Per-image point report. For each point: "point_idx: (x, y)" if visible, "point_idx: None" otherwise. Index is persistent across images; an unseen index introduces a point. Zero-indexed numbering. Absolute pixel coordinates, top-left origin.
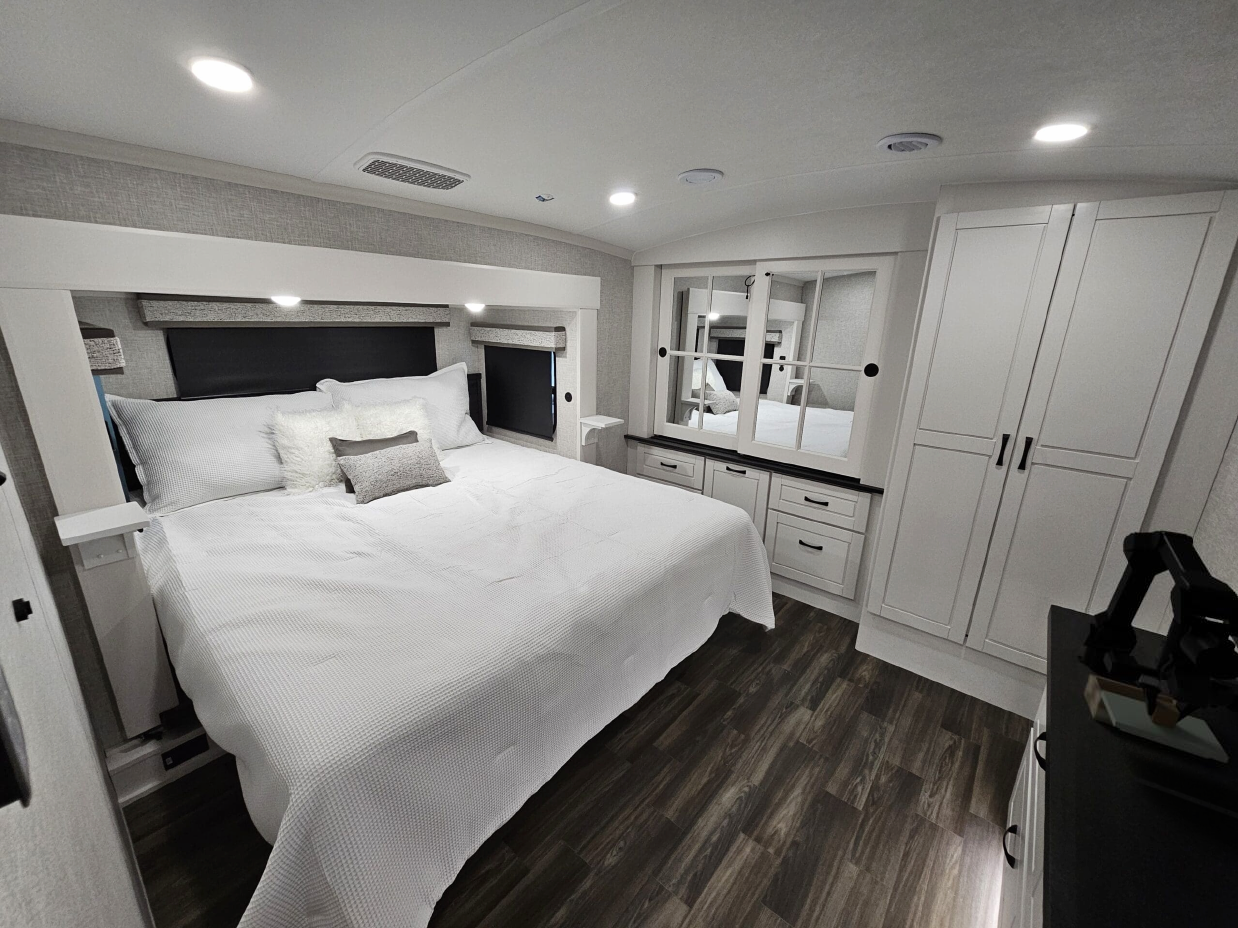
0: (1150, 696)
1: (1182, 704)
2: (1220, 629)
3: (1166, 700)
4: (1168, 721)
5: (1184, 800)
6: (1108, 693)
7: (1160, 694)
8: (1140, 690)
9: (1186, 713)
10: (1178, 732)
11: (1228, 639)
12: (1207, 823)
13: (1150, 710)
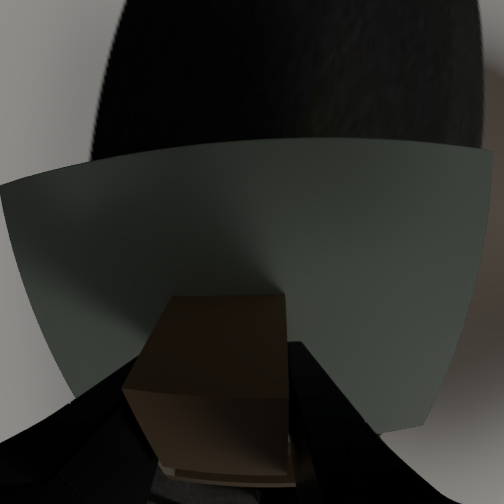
0: (383, 475)
1: (106, 472)
2: None
3: (186, 470)
4: (198, 321)
5: (184, 82)
6: (410, 417)
7: (198, 482)
8: (240, 481)
9: (87, 401)
10: (153, 272)
11: None
12: (152, 22)
13: (307, 365)
